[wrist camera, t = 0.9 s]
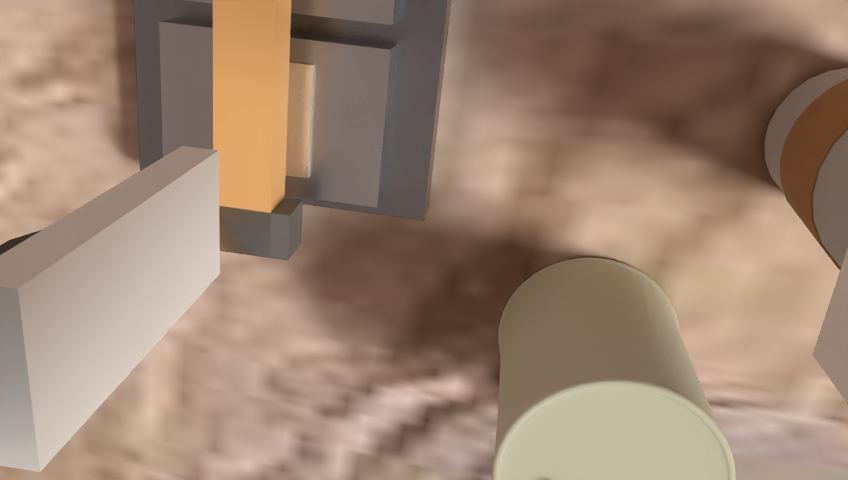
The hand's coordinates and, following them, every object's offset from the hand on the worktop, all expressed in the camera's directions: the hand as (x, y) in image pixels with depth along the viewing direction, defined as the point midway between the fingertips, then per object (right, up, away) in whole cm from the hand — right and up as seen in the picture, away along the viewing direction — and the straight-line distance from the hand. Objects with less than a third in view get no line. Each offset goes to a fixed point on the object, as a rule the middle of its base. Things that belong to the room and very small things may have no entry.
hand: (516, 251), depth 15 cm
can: (+7, -5, +25) cm, 26 cm away
